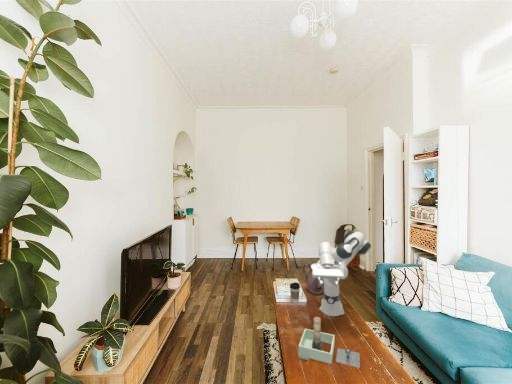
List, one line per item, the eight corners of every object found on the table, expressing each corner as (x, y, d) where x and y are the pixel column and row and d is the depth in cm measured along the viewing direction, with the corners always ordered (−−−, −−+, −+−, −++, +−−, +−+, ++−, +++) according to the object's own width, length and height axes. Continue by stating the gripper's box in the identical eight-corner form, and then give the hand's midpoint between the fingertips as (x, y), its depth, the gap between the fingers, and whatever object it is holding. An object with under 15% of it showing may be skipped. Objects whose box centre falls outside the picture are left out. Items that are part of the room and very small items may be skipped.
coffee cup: (301, 303, 202) (301, 285, 201) (292, 304, 199) (292, 286, 199) (297, 298, 210) (297, 281, 209) (288, 300, 207) (288, 282, 207)
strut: (313, 346, 147) (313, 315, 146) (322, 348, 145) (322, 317, 144) (312, 351, 142) (312, 319, 141) (320, 354, 140) (320, 321, 139)
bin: (305, 339, 155) (305, 328, 155) (334, 346, 148) (334, 335, 148) (298, 357, 139) (298, 345, 138) (331, 366, 132) (331, 354, 131)
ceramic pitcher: (327, 297, 212) (327, 268, 211) (302, 295, 216) (302, 267, 216) (325, 288, 229) (325, 262, 228) (302, 287, 234) (302, 261, 233)
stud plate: (337, 350, 145) (337, 340, 144) (359, 355, 140) (359, 345, 140) (335, 364, 134) (335, 353, 133) (359, 370, 129) (359, 359, 129)
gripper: (311, 261, 162) (312, 281, 152) (343, 262, 159) (346, 283, 150) (310, 265, 166) (311, 285, 157) (341, 266, 164) (344, 287, 154)
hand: (329, 284), depth 153 cm, fingers open, 8 cm apart
